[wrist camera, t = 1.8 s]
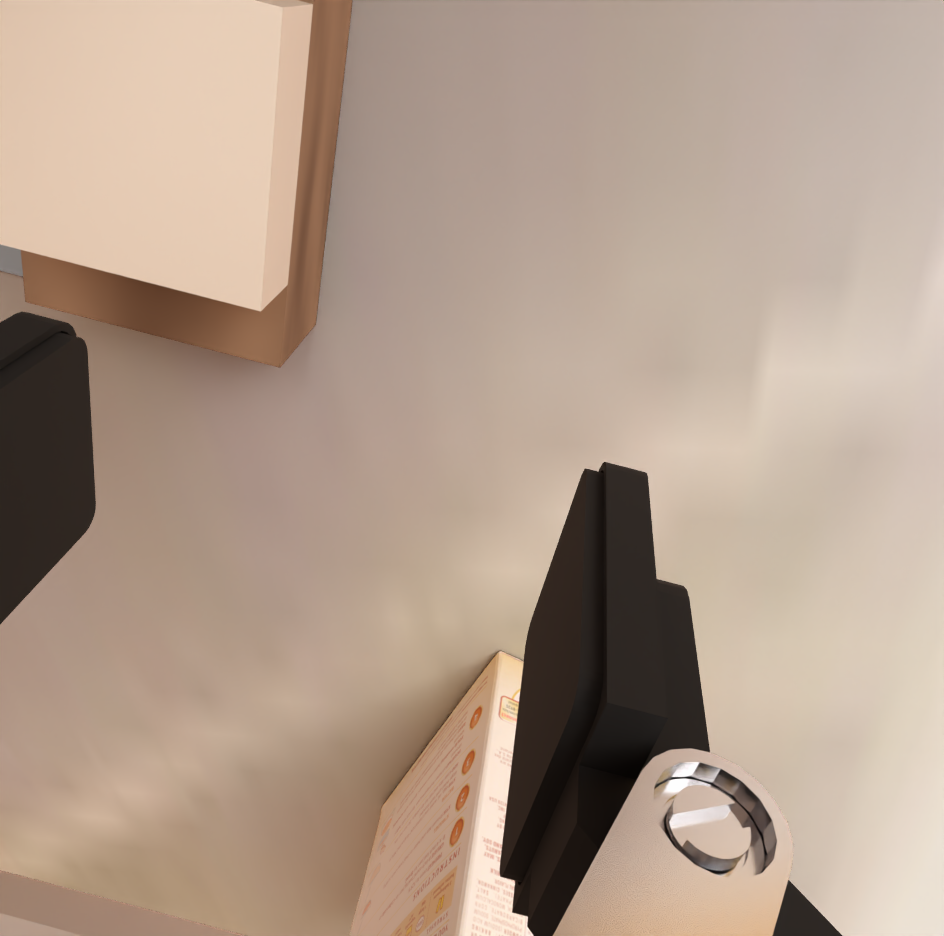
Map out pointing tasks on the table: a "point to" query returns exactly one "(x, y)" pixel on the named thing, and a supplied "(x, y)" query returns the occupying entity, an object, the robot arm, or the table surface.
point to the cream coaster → (155, 138)
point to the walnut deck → (297, 304)
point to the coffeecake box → (450, 826)
